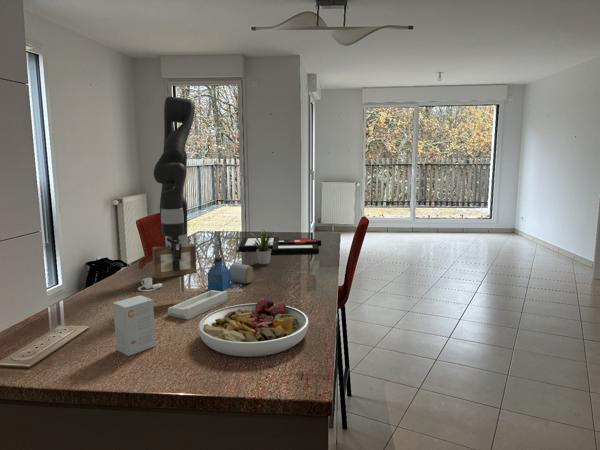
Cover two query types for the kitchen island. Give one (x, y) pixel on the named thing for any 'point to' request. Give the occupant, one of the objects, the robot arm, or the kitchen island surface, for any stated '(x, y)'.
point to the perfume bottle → (218, 276)
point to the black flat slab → (283, 245)
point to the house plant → (264, 248)
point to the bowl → (253, 328)
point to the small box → (134, 325)
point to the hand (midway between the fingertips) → (175, 268)
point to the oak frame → (165, 262)
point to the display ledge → (198, 304)
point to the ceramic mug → (241, 273)
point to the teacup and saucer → (149, 284)
